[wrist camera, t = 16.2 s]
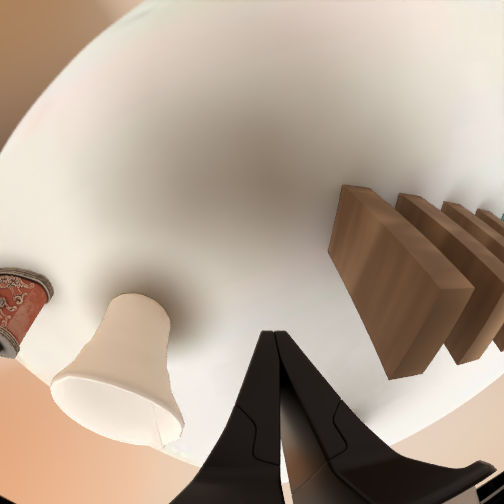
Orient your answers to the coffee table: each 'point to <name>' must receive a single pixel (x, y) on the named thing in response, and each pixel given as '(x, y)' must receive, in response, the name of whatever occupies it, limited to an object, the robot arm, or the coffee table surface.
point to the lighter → (20, 305)
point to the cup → (124, 377)
